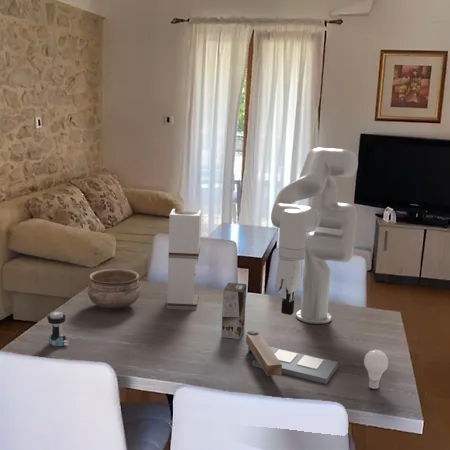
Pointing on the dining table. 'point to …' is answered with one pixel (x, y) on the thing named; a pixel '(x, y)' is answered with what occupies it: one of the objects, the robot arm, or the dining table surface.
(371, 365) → the lightbulb
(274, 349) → the label board
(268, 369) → the swing bar
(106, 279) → the cooking pot
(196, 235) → the white wood-banded pillar
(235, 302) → the coffee box
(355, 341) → the dining table surface
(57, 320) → the push button
